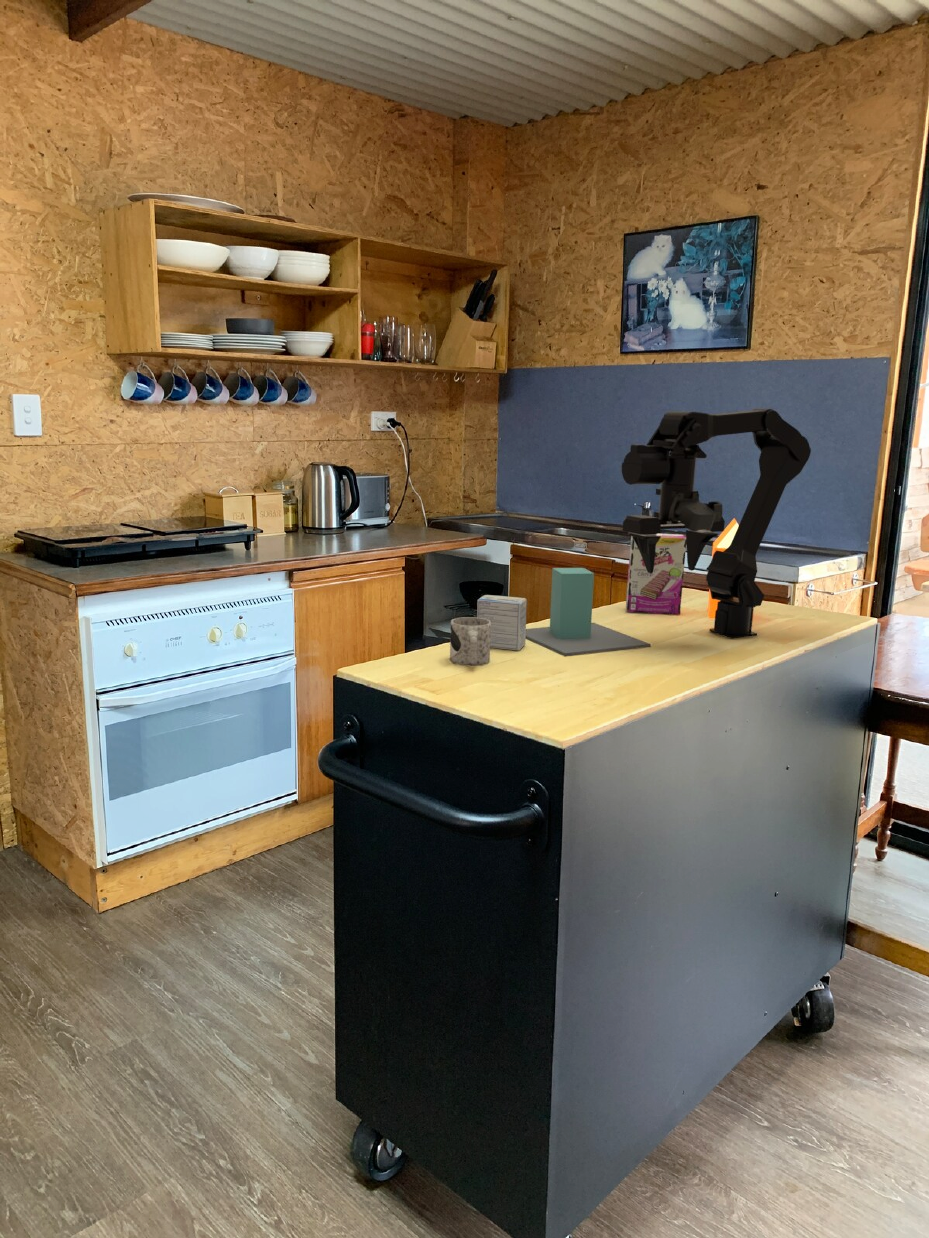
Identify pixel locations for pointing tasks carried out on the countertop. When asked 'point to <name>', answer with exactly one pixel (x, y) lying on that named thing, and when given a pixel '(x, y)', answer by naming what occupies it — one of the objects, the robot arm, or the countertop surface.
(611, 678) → the countertop surface
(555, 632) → the teal block
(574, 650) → the charcoal mat
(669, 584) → the candy bar box
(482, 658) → the mug
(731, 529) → the orange juice
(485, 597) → the medicine box
